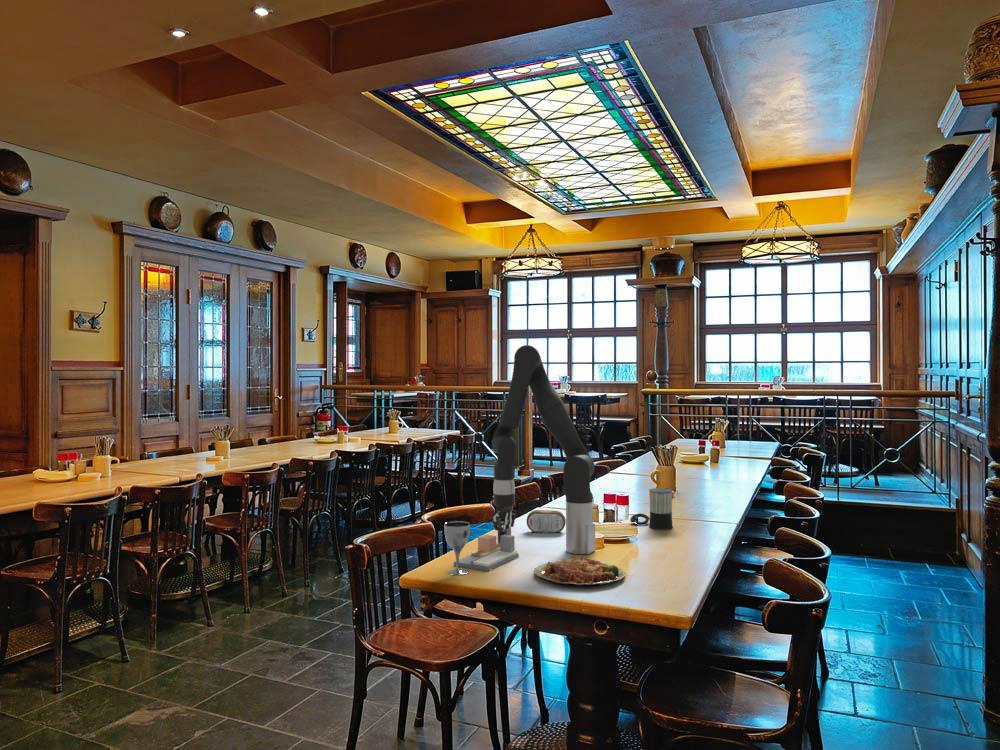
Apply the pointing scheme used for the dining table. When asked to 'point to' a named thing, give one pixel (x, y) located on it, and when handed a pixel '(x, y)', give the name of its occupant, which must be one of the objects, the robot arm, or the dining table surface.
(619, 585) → the dining table surface
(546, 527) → the tin
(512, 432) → the robot arm
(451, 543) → the wine glass
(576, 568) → the rice dish
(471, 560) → the lane board
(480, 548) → the terracotta block
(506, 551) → the grey strip
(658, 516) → the milk frother
